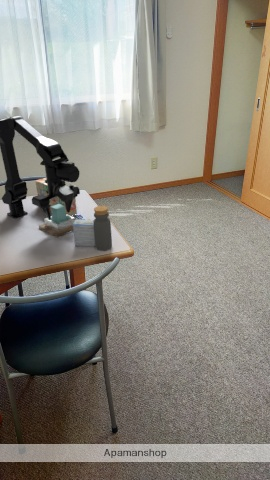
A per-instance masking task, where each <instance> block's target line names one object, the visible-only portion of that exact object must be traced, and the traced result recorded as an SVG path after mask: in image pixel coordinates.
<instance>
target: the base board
mask: <svg viewBox="0 0 270 480" xmlns="http://www.w3.org/2000/svg"><path fill="white" fill-rule="evenodd" d="M38 227H39V229H40V230H42V231H44V232H46V233H48V234H50V235H52V236H55V237H57V238H59V237H62V236H63V235H64V236H65V235H66V234H69V233H71V232H73V226H71V227H68V228H66V229H64V230H61V231H59V232H58V231H55V230H53V229H51V228H49V227H47V226H45V223H43V224H40V225H39V226H38Z"/></svg>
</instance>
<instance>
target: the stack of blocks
mask: <svg viewBox="0 0 270 480" xmlns="http://www.w3.org/2000/svg"><path fill="white" fill-rule="evenodd" d="M45 180H47V179H46V177H44V178H39V179H36V180H35V186H36V193H37V195H40V194H41V195H44V196H47V195H49V194H48V193H46V191H47V190H48V186H47V183H45ZM76 199H77V197H75V198H74V199H73V201H72V205H71V208H70V212H69V213H68V212H67V210H66V214H67V215H70V216H72V215H75V214H77V213H78V212H77V211H78V210H77V203H76V202H77V200H76ZM57 204H61V205H63V206H65V202H63V201H62V200H61V199H60V198H59V197H58V198H55V199H52V200H50V203H49V205H51V206H54V205H57ZM51 206H50V208H49V209H50V212H51ZM65 208H66V206H65ZM75 216H76V215H75ZM72 217H73V216H72Z"/></svg>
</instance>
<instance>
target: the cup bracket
mask: <svg viewBox="0 0 270 480" xmlns="http://www.w3.org/2000/svg"><path fill="white" fill-rule="evenodd" d="M50 216H51V220H49V219H48V218H47V217H45V218H43V221H44V224H45V226H47V227H49V228H51V229H53V230H55V231H58V232H59V231H61V230H64V229H66V228H68V227H71V226H73V223H74V221H75V220H76V218H75V217H76V216H70V215H67V214H66V217H67V220H65V221H62V222H60V223H56V222H54V221H52V215H50Z"/></svg>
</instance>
